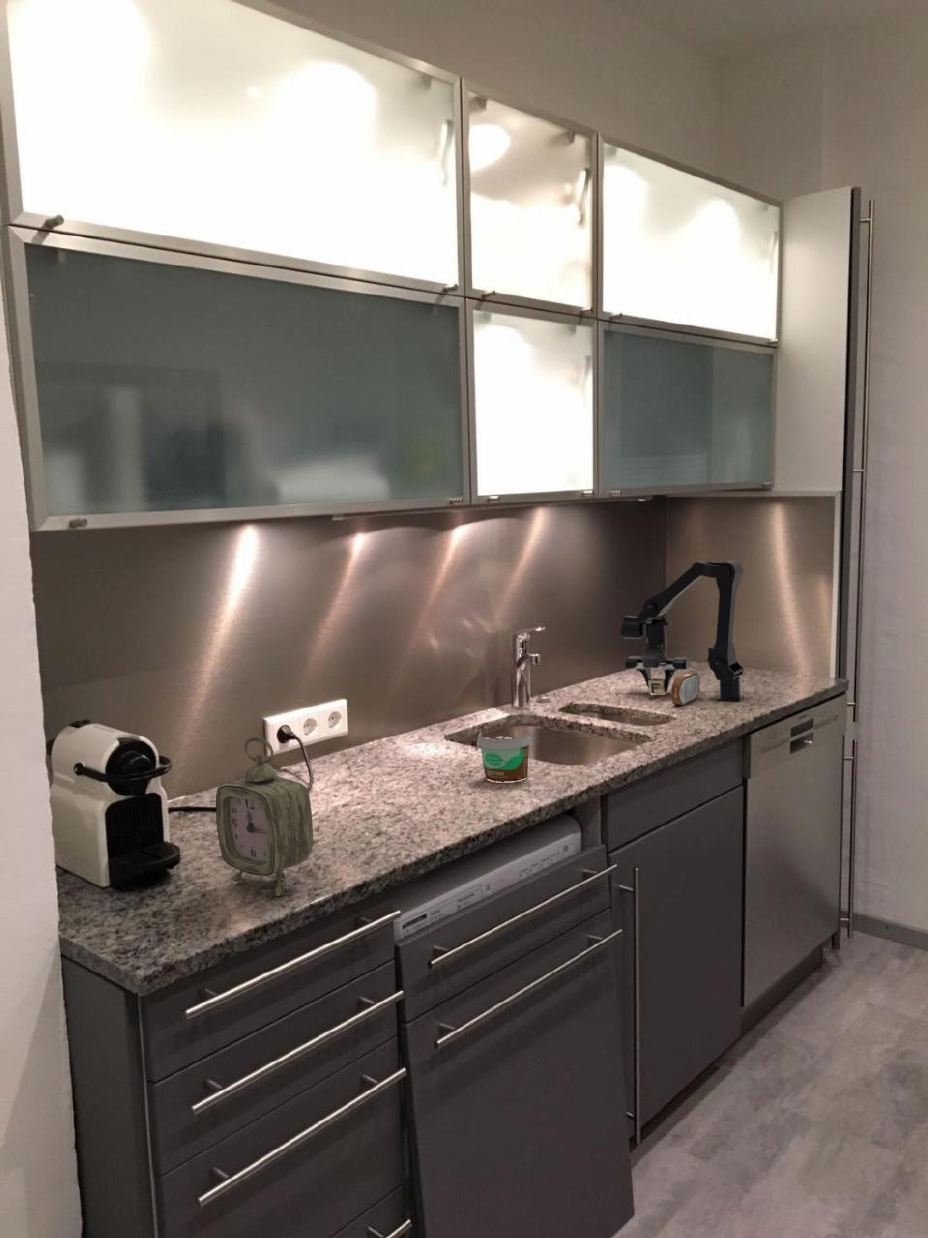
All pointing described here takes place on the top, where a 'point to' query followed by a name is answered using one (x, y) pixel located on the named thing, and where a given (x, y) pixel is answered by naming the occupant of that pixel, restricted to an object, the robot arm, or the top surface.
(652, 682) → the letter cube
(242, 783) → the tabletop clock
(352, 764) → the top surface
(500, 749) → the food container
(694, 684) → the tin
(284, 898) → the top surface
